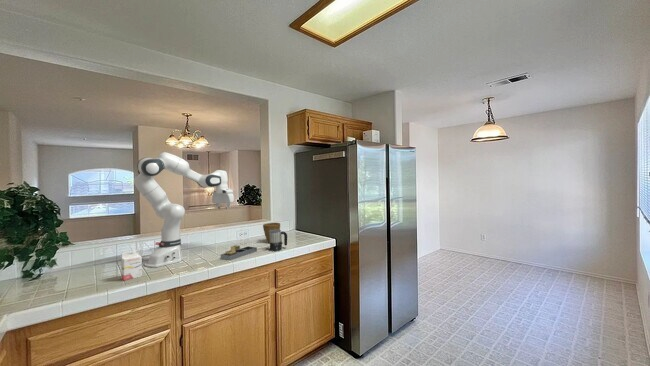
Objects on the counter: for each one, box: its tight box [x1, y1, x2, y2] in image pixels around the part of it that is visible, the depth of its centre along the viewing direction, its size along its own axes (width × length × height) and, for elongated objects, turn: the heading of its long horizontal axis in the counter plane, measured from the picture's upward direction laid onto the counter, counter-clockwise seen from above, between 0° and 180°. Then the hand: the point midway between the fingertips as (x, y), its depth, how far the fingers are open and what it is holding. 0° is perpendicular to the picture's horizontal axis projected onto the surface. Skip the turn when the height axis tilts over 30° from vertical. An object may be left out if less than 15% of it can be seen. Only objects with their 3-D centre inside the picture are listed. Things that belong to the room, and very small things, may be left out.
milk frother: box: [269, 229, 288, 252], centre depth 207 cm, size 14×16×15 cm
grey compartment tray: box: [220, 245, 258, 261], centre depth 189 cm, size 25×9×4 cm, turn 151°
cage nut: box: [230, 244, 241, 250], centre depth 199 cm, size 5×5×5 cm
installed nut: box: [224, 249, 236, 255], centre depth 182 cm, size 5×5×5 cm
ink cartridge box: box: [120, 249, 143, 281], centre depth 149 cm, size 9×5×15 cm, turn 141°
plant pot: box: [262, 222, 281, 244], centre depth 228 cm, size 15×15×16 cm
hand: (223, 209), depth 203 cm, fingers open, 8 cm apart
